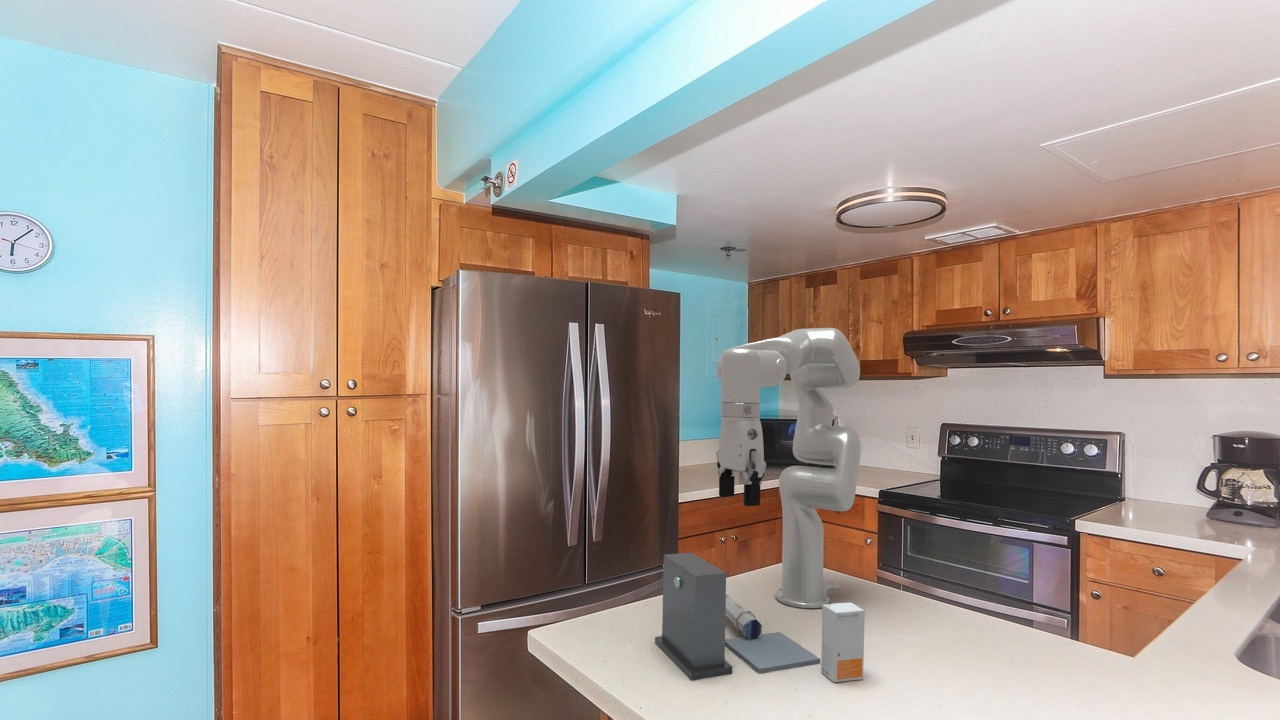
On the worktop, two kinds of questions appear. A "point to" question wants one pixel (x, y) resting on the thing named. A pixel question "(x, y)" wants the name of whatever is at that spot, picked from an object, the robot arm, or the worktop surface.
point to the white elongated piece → (742, 619)
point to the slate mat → (771, 652)
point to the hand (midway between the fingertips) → (738, 500)
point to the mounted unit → (694, 616)
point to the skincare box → (842, 642)
